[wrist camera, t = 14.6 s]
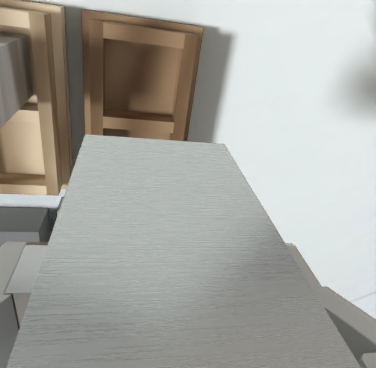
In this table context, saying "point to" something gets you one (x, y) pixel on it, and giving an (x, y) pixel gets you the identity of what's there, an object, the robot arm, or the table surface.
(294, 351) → the block
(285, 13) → the table surface
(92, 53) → the pallet
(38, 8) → the tray
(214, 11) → the table surface
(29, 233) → the button console
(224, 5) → the table surface
